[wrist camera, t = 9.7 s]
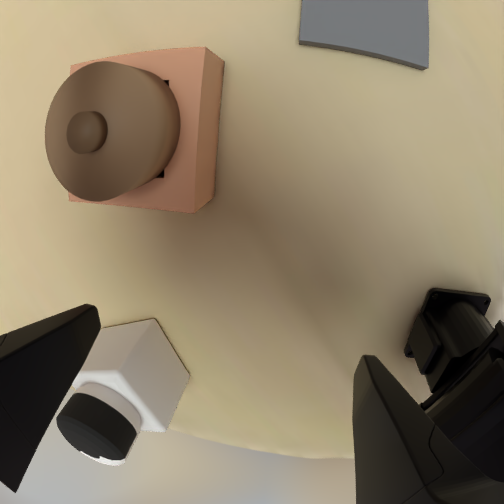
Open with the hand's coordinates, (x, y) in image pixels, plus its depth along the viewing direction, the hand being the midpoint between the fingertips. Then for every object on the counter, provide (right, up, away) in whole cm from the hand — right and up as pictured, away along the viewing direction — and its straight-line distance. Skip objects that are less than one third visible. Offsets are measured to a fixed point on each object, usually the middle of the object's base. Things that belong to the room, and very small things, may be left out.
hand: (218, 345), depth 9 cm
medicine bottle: (-9, -7, +18) cm, 21 cm away
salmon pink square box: (-6, +11, +9) cm, 16 cm away
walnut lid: (-6, +10, +6) cm, 13 cm away
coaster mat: (+8, +19, +4) cm, 21 cm away
